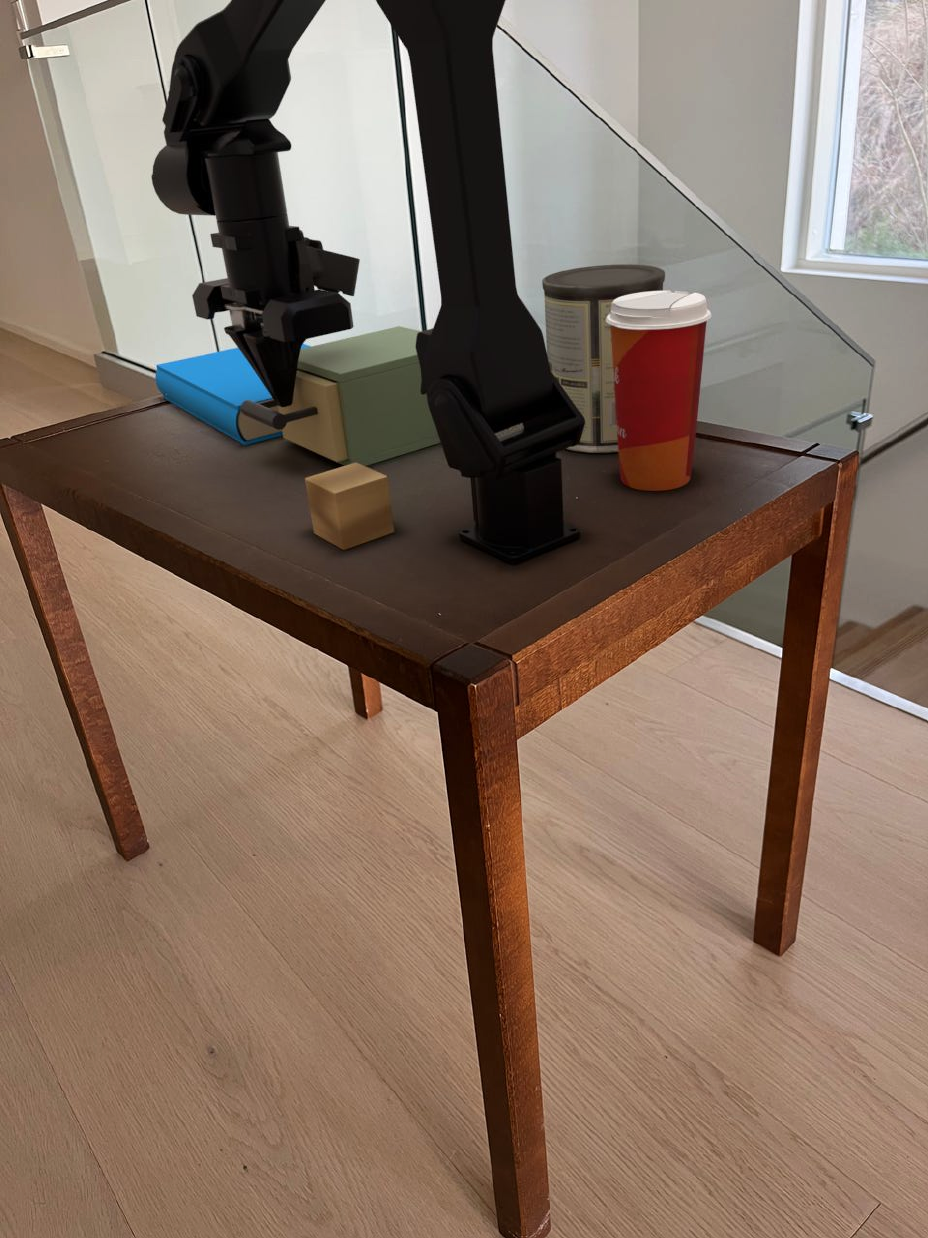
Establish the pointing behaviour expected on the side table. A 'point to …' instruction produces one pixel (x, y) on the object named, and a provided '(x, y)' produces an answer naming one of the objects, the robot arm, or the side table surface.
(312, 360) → the cabinet
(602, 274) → the coffee can
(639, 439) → the paper cup
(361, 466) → the block
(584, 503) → the side table surface
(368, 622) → the side table surface
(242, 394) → the book
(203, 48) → the robot arm
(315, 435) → the drawer
